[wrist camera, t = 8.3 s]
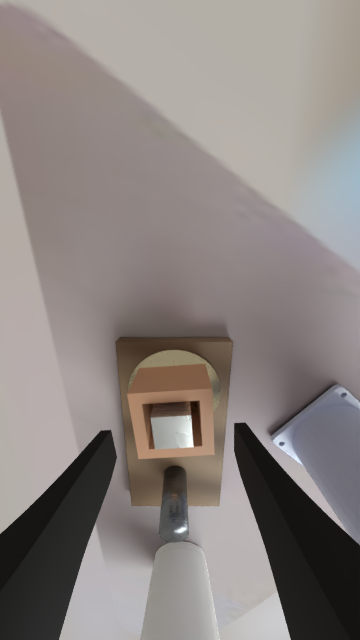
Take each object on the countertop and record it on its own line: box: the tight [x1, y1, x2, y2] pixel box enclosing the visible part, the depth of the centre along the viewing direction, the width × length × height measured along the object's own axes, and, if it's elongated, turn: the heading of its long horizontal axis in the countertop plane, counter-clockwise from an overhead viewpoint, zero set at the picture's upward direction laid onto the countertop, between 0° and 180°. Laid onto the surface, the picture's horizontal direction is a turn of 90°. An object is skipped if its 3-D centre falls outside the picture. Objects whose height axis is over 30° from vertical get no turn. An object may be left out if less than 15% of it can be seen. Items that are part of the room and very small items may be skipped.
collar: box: [127, 364, 215, 459], centre depth 12 cm, size 5×5×3 cm
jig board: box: [116, 337, 233, 506], centre depth 15 cm, size 18×9×1 cm, turn 0°
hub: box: [128, 349, 221, 449], centre depth 12 cm, size 8×8×4 cm
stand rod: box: [159, 466, 189, 543], centre depth 14 cm, size 2×2×4 cm
